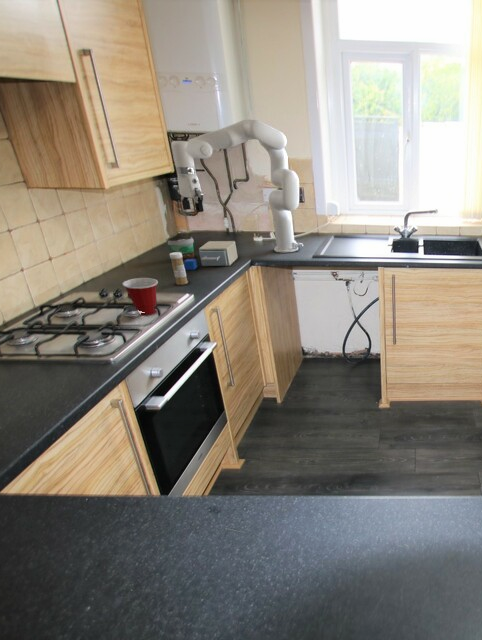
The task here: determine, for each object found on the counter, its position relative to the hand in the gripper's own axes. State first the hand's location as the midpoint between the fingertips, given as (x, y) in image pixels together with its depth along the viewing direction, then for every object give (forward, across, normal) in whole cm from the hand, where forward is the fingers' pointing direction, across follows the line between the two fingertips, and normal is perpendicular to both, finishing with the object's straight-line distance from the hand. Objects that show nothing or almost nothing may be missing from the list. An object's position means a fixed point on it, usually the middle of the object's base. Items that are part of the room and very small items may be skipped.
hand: (193, 210), depth 215 cm
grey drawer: (+26, -2, -6) cm, 26 cm away
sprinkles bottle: (+27, -15, +20) cm, 37 cm away
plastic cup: (+27, -36, +47) cm, 65 cm away
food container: (+27, +19, -4) cm, 33 cm away
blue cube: (+27, +3, +5) cm, 27 cm away
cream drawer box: (+26, +2, -10) cm, 28 cm away
